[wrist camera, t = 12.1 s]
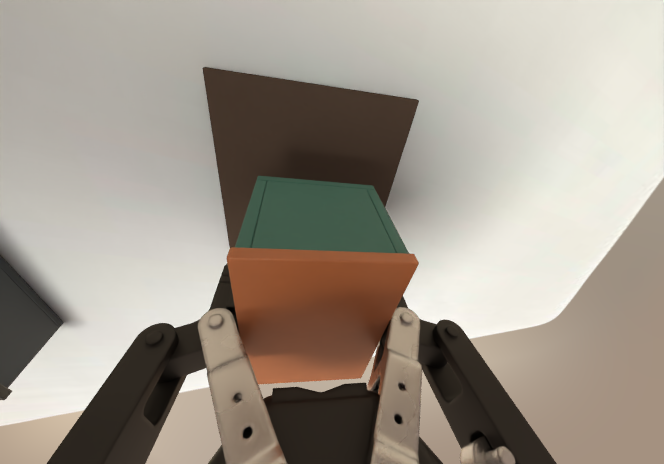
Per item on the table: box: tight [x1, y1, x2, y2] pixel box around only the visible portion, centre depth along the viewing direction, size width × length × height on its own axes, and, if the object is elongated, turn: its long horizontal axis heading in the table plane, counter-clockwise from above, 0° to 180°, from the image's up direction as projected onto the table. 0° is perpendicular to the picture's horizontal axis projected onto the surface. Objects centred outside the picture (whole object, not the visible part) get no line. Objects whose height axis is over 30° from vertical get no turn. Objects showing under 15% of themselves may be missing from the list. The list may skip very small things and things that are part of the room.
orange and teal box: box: [227, 176, 419, 384], centre depth 13 cm, size 9×6×6 cm
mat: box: [203, 67, 419, 248], centre depth 19 cm, size 16×13×1 cm
